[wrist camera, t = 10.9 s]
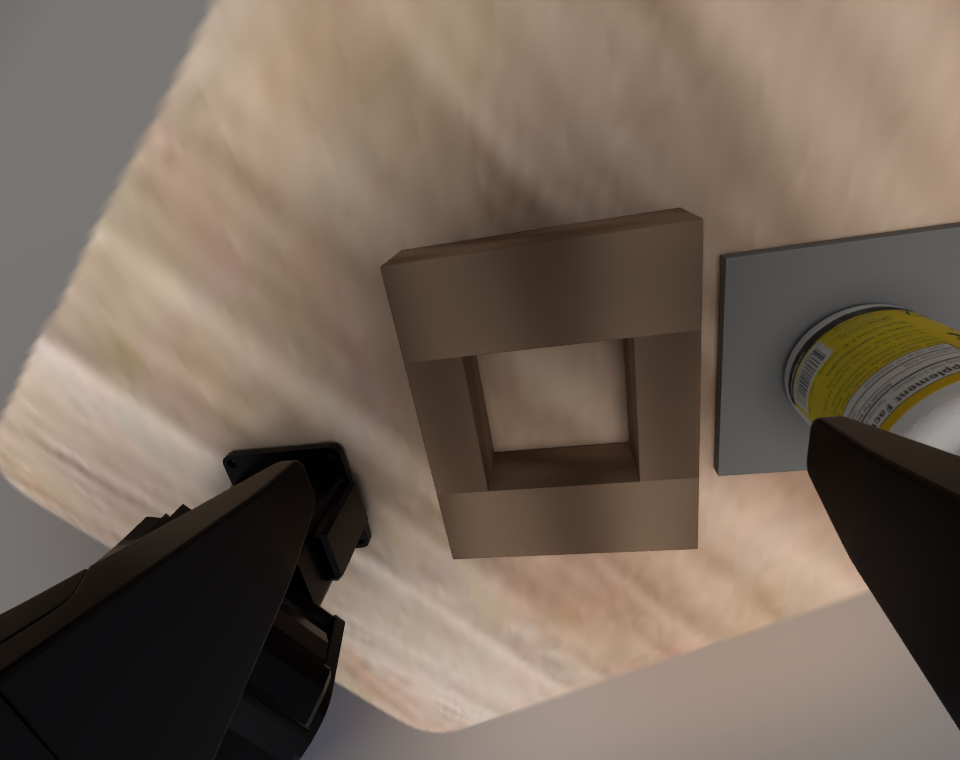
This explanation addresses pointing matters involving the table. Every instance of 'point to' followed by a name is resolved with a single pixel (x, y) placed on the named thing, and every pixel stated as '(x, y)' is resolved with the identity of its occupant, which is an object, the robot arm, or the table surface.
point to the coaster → (811, 326)
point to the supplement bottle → (881, 373)
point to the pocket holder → (546, 323)
